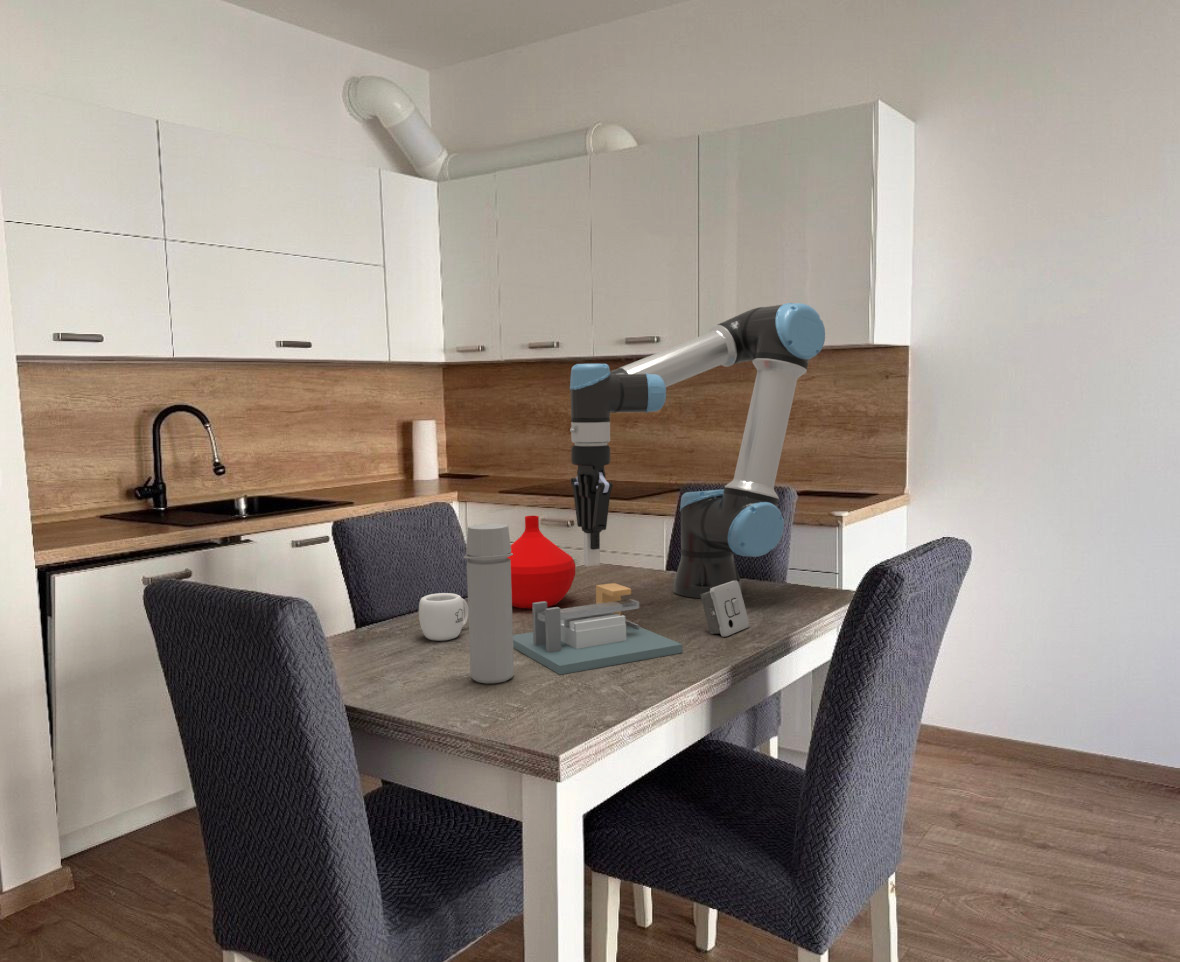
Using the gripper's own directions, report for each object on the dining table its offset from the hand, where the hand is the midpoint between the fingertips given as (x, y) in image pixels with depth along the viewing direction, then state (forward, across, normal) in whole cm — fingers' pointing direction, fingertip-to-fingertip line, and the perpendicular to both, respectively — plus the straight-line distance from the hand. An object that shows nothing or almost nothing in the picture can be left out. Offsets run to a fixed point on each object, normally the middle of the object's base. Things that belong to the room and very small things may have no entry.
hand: (592, 564), depth 187 cm
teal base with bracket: (+12, +14, -8) cm, 20 cm away
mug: (+13, -9, -26) cm, 31 cm away
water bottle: (+13, +20, -30) cm, 38 cm away
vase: (+12, -24, -2) cm, 27 cm away
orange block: (+11, +8, 0) cm, 13 cm away
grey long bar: (+6, +14, -8) cm, 17 cm away
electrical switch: (+12, +17, +19) cm, 29 cm away
